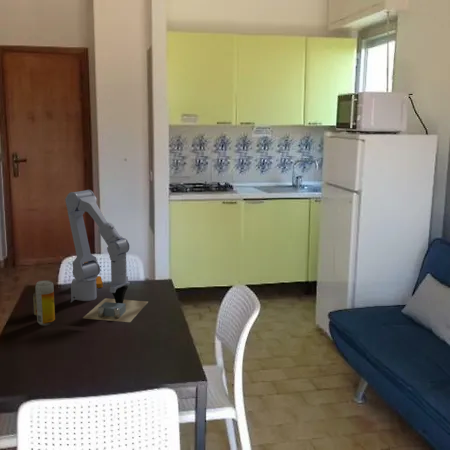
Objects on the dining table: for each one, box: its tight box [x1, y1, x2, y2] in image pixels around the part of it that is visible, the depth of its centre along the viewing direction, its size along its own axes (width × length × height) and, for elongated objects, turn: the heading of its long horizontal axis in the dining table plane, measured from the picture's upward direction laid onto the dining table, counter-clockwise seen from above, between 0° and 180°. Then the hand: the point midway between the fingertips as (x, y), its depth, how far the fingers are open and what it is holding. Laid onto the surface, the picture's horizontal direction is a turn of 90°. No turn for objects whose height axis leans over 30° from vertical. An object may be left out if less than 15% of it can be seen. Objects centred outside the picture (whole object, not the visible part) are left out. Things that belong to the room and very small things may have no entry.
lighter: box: [32, 291, 37, 316], centre depth 211 cm, size 7×4×10 cm, turn 96°
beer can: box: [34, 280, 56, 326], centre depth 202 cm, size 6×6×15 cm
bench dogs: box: [98, 306, 120, 319], centre depth 206 cm, size 8×2×4 cm, turn 80°
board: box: [82, 297, 149, 323], centre depth 214 cm, size 18×22×1 cm
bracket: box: [85, 262, 104, 289], centre depth 244 cm, size 11×7×12 cm, turn 17°
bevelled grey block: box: [100, 302, 126, 317], centre depth 210 cm, size 8×6×3 cm
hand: (119, 304), depth 217 cm, fingers closed
